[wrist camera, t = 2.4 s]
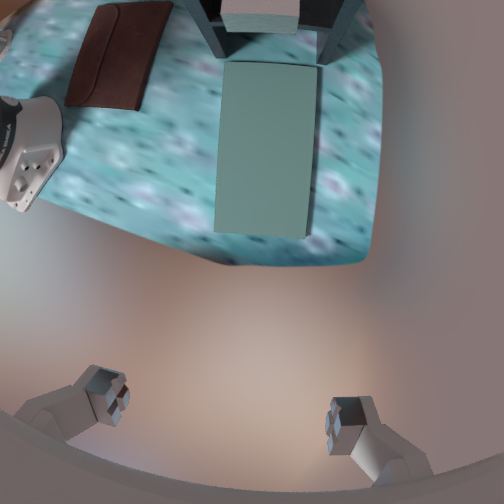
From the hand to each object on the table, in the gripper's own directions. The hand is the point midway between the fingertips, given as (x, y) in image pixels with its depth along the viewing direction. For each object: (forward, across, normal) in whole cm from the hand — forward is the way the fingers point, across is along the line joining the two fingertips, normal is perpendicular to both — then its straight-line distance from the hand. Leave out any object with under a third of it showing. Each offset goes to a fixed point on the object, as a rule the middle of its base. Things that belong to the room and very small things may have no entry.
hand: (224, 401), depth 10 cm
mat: (+34, 0, -11) cm, 36 cm away
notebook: (+35, +25, -28) cm, 51 cm away
